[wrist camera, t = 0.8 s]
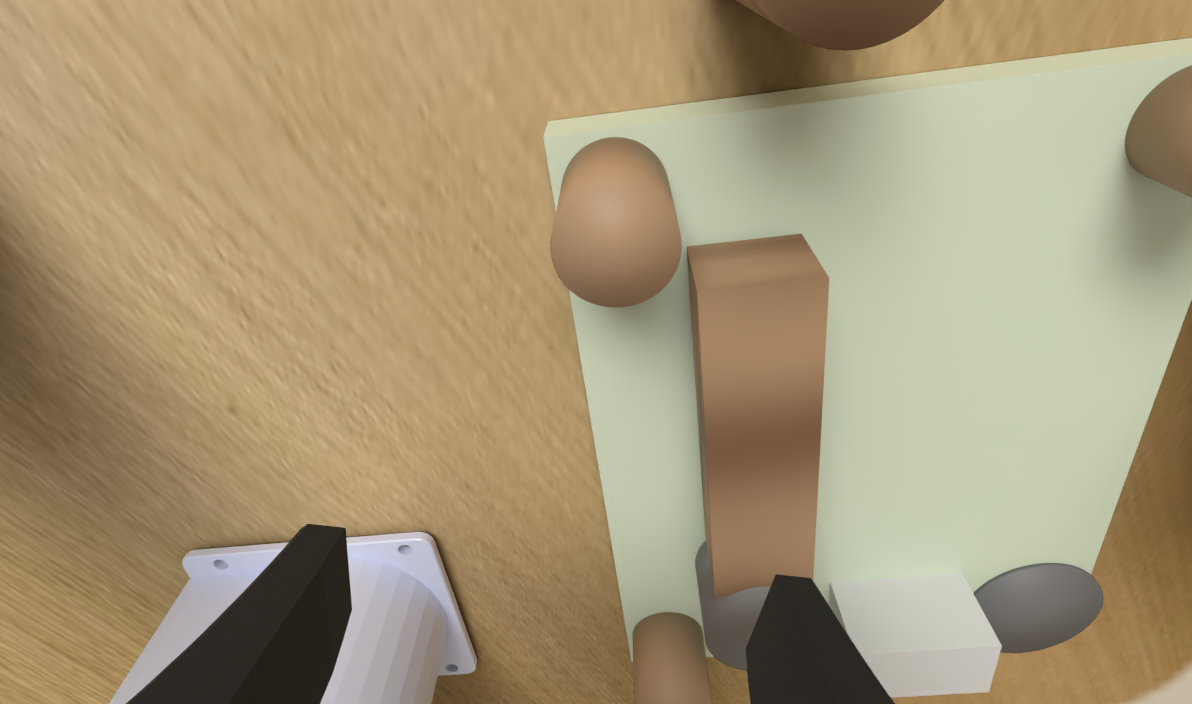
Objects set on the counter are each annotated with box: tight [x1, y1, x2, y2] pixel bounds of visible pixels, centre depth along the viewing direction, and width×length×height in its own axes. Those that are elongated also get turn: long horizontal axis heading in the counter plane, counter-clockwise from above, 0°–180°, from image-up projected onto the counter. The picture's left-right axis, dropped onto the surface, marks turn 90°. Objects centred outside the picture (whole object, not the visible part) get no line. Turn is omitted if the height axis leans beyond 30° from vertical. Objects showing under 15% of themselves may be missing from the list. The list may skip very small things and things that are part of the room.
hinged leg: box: [687, 234, 829, 671], centre depth 19 cm, size 13×4×3 cm, turn 7°
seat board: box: [544, 38, 1192, 704], centre depth 20 cm, size 17×21×5 cm
